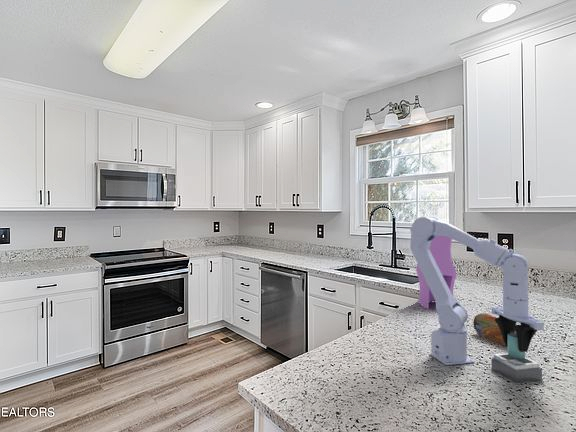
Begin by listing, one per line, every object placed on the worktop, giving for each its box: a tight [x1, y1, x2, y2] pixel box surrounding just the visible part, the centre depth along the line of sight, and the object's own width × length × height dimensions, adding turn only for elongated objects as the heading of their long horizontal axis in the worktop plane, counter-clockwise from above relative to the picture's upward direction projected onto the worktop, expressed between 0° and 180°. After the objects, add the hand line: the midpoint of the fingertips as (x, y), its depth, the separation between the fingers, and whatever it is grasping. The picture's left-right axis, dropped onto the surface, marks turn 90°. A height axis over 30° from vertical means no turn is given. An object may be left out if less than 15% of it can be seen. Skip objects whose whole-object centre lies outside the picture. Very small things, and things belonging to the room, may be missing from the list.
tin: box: [472, 313, 515, 346], centre depth 113 cm, size 15×3×8 cm, turn 21°
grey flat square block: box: [491, 352, 543, 384], centre depth 89 cm, size 8×8×4 cm
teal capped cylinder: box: [506, 331, 526, 358], centre depth 89 cm, size 4×4×6 cm
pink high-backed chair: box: [415, 236, 457, 309], centre depth 157 cm, size 14×14×35 cm
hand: (515, 347), depth 89 cm, fingers closed on teal capped cylinder, 4 cm apart
